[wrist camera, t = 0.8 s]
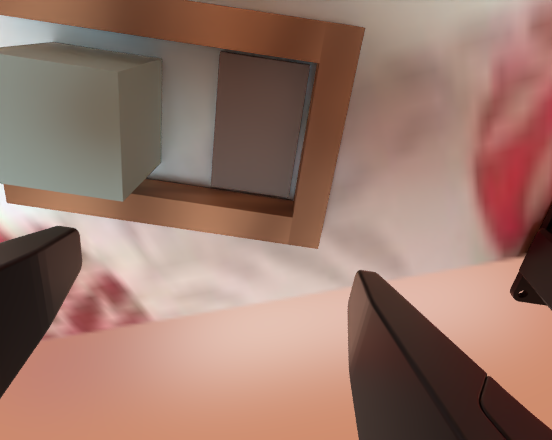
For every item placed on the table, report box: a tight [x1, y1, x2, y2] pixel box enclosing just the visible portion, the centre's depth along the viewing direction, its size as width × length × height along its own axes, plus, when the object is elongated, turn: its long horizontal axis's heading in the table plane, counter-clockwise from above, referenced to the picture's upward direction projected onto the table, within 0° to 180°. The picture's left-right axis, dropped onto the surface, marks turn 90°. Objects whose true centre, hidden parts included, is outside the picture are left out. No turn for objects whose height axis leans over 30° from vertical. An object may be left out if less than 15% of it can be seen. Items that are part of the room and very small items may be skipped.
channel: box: [0, 0, 365, 249], centre depth 19 cm, size 16×10×2 cm, turn 82°
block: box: [0, 42, 162, 202], centre depth 17 cm, size 5×5×5 cm
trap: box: [211, 51, 310, 198], centre depth 19 cm, size 4×6×1 cm, turn 172°
